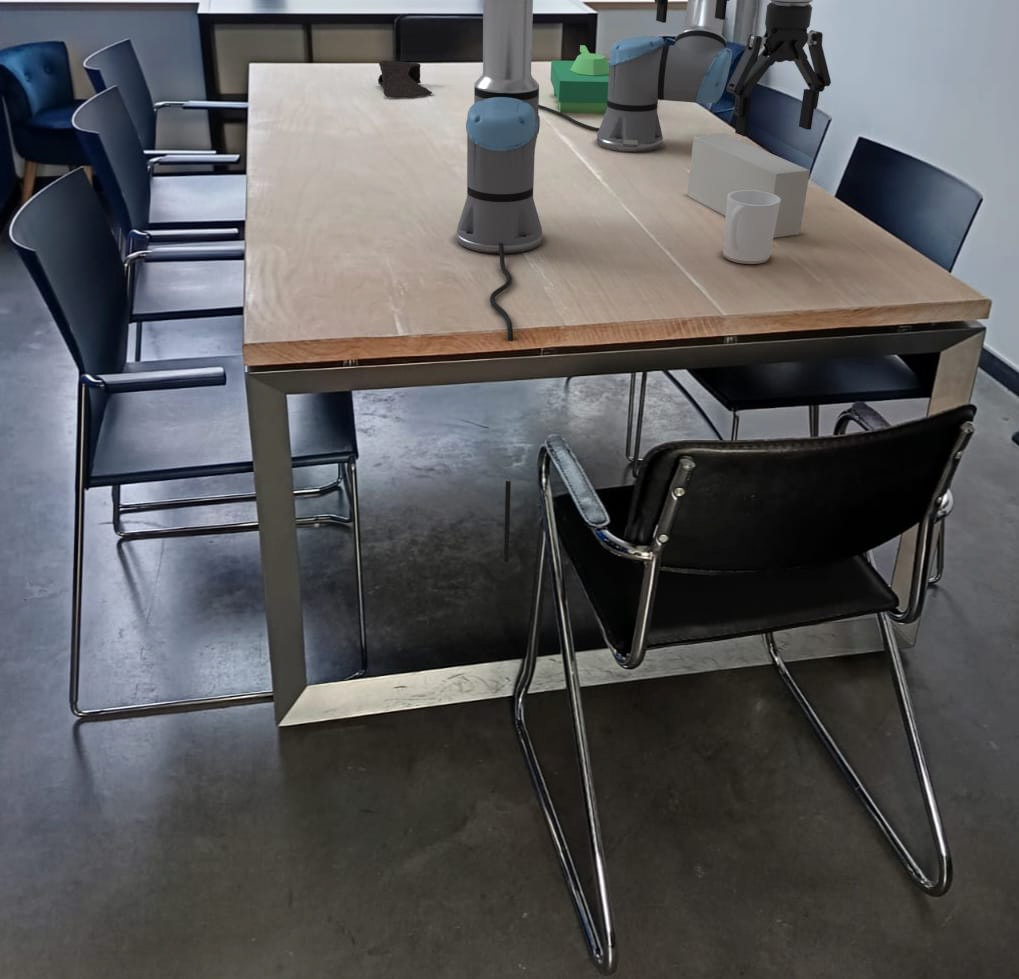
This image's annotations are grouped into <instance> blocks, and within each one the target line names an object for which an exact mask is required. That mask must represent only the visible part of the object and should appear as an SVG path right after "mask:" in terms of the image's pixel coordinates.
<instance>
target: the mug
mask: <svg viewBox="0 0 1019 979" xmlns="http://www.w3.org/2000/svg"><path fill="white" fill-rule="evenodd" d="M780 202H781V199H780V197H778V196H777V195H774V194H771V193H768V192H763V191H755V190H740V191H734V192H731V193H729V194H728V196H727V206H726V216H725V219H724V220H725V221H724V233H723V247H722V255H723V258H725V259H726V260H728V261H730V262H733V263H737V264H743V265H744V264H745V265H759V264H763V263H766V262H767V261H768V260H770V257H771V251H772V247H773V241H774V238H773V237H774V232H775V227H776V222H777V217H778V212H779V207H780Z"/></svg>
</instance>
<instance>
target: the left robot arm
mask: <svg viewBox="0 0 1019 979" xmlns="http://www.w3.org/2000/svg"><path fill="white" fill-rule="evenodd" d="M482 1H483V2H482V4H483V5H482V27H483V28H482V74H481V76H479V78H478V79H477V80H476V81H475V82H474V88H473V90H474V96H473V97H474V99H473V100H474V103H473V104H472V105H471V106H470V107H469V109H468V111H467V117H466V122H465V131H466V192H467V193H466V198H465V202H464V205H463V209H462V211H461V214H460V218H459V220H458V224H457V228H456V241H457V243H458V244H459V245H461V246H462V247H464V248H466V249H468V250H470V251H475V252H479V253H486V254H497V255H499V266H500V269H501V271H502V273H503V274H504V276H505V277H506V281H505V283H504V284H502V285H501V286H500V287H498V288H496V289H495V290H493V291H492V293H491V294H490V296H489V302H490V305H491V306H492V307H493V308H494V309H495V310H496V312H498V313H499V314H500V315H501V316H502V317H503V319H504V321H505V323H506V329H507V341H509V342H513V341H514V329H513V322H512V320H511V317H510V316H509V315H508V313H507V311H506V310H505V309H504V308H502V307H501V306H500V305H499V304H498V303H497V301H496V299H495V298H496V297H497V296H498V295H499V294H500V293H502V292H503V291H505V290H507V289H508V288H509V287H510V285H511V283H512V275H511V274H510V272H509V271H508V268H507V267H506V262H505V255H506V254H507V255H508V254H517V253H524V252H527V251H530V250H533V249H536V248H538V247H539V246H540V245H541V244H542V243H543V229H542V224H541V221H540V220H541V219H540V218H539V214H538V213H539V212H538V210H537V206H536V204H535V199H534V184H535V181H534V180H535V157H536V156H535V154H536V146H537V139H538V135H539V132H540V128H541V127H540V126H541V119H540V115H539V111H540V109H539V105H540V84H539V82H538V81H537V80H536V78H534V77H533V76H532V55H533V54H532V53H533V15H534V0H482ZM813 1H814V0H770V2H768V4H767V5H766V11H765V18H764V19H765V20H764V26H765V32H764V34H763V35H757V34H753V33H751V34H749V35H748V36H747V41H746V47H745V49H744V51H743V53H742V55H741V57H740V59H739V61H738V63H737V66H735V69H734V72H733V73H732V76H731V77H730V79H729V80H728V83H727V84H726V85H727V86H726V87H725V88H726V92H727V93H730V94H733V95H734V97H735V99H734V109H733V114H734V115H735V116H736V121H735V129H734V133H735V134H737V135H739V136H742V137H748V131H749V124H750V114H751V107H752V97H751V96H749V95H750V93H751V92H752V91H753V89H754V88H755V87H756V86H757V84H758V83H759V81H760V80H761V79H762V77H763V76H764V75H765V73H766V72H767V71H768V70H769V69H770V67H771V66H773V65H775V63H783V62H786V61H787V62H794V65H795V66H796V67H797V69H798V71H799V73H800V75H801V77H802V78H803V80H804V82H805V84H806V85H807V87H808V88H803V93H802V101H801V107H800V114H799V121H798V127H799V128H802V129H804V130H809V131H810V130H812V127H813V126H812V125H813V120H814V119H813V118H814V113H815V110H816V109H817V108H818V104H819V98H820V93H822V92H824V91H825V89H826V88H825V87H830V85H831V84H832V79H831V77H830V72H829V68H828V64H827V59H826V56H825V52H824V47H823V37H824V34H823V32H822V31H818V30H814V29H811V30H809V32H808V29H809V27H810V26H811V19H812V12H813V6H812V4H810V3H812V2H813ZM806 44H807V47H808V53H809V56H810V60H811V62H810V61H809V59H808V58H809V57H808V55H807V53H806V50H805V49H804V47H805V46H806ZM761 49H763V50H762V51H761ZM760 51H761V52H760ZM811 63H812V64H811ZM511 483H512V482H511V480H506V481H505V490H504V492H505V493H504V494H505V496H504V535H503V536H504V539H503V540H504V542H503V545H504V546H503V562H504V563H509V562H510V526H511V525H510V524H511V487H512V486H511V485H512V484H511Z"/></svg>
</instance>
